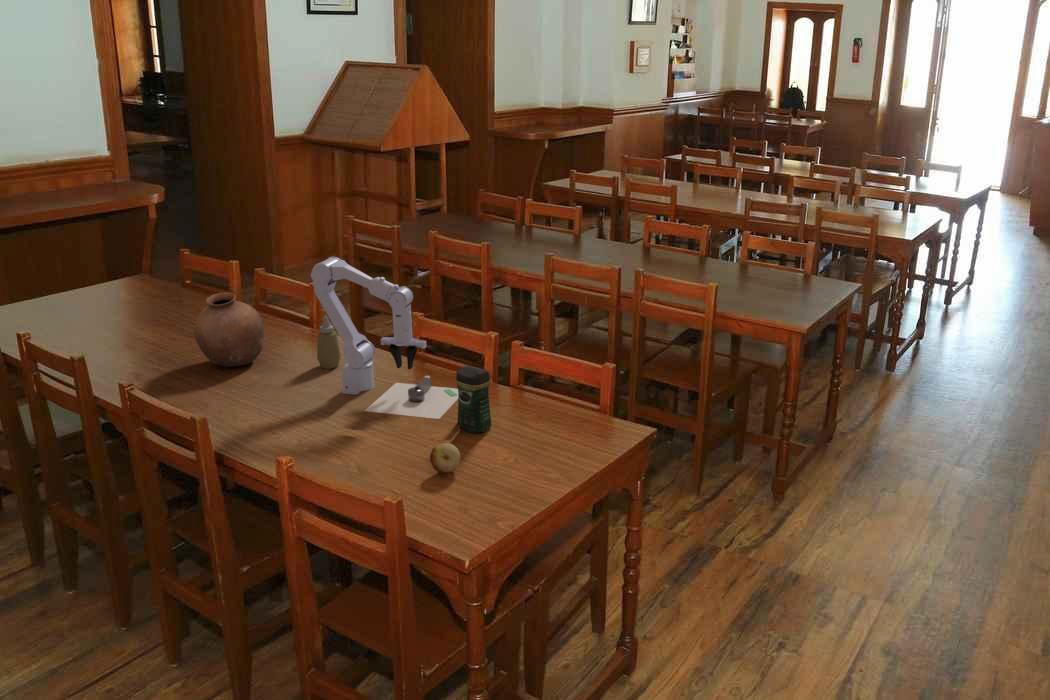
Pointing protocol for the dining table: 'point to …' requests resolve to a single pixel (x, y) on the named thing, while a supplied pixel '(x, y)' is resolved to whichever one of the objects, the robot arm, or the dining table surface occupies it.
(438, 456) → the fruit
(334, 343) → the squeeze bottle
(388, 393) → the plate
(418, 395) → the grey measuring scoop
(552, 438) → the dining table surface
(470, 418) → the coffee jar
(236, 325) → the pottery
